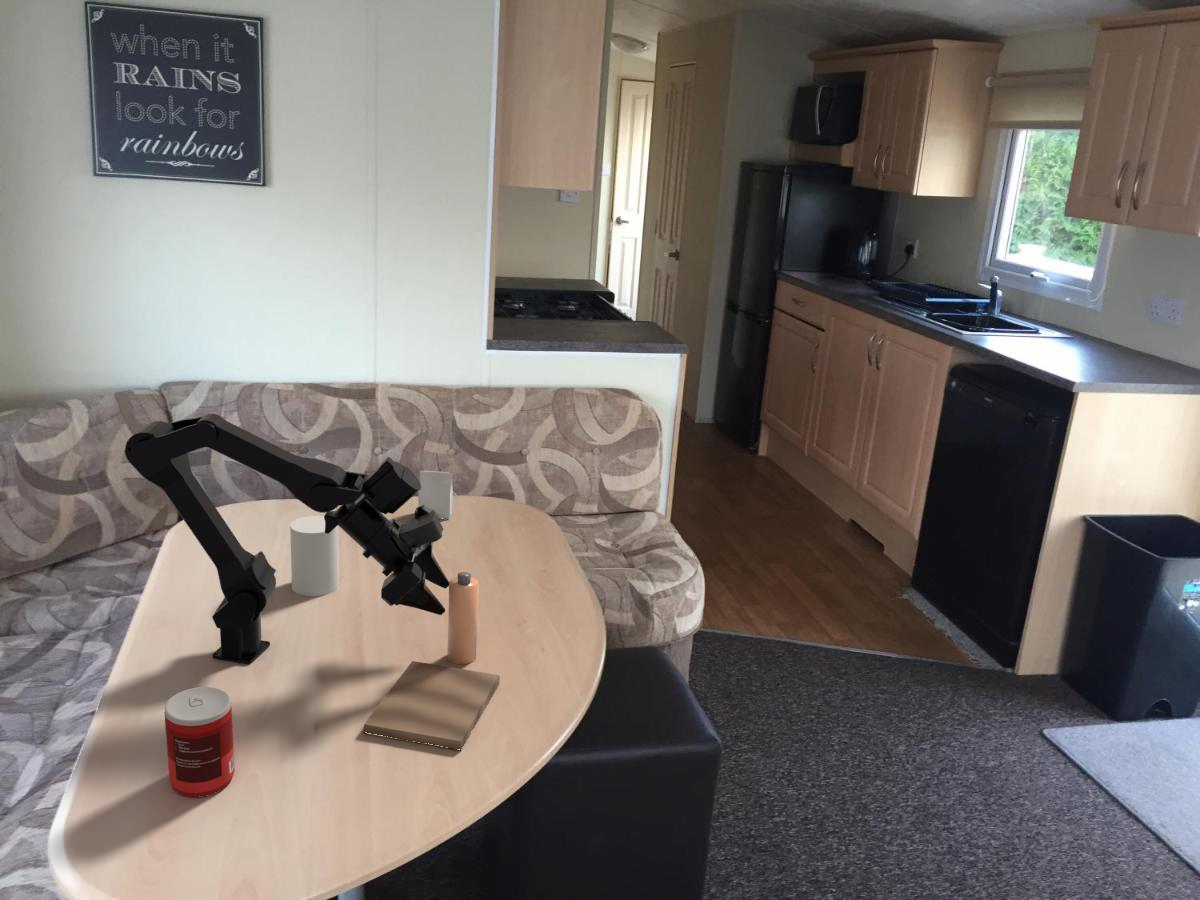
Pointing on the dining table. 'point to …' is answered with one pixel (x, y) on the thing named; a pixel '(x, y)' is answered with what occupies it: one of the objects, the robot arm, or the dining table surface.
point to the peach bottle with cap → (463, 619)
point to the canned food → (199, 741)
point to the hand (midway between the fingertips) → (445, 599)
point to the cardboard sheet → (433, 705)
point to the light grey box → (436, 492)
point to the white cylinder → (314, 557)
